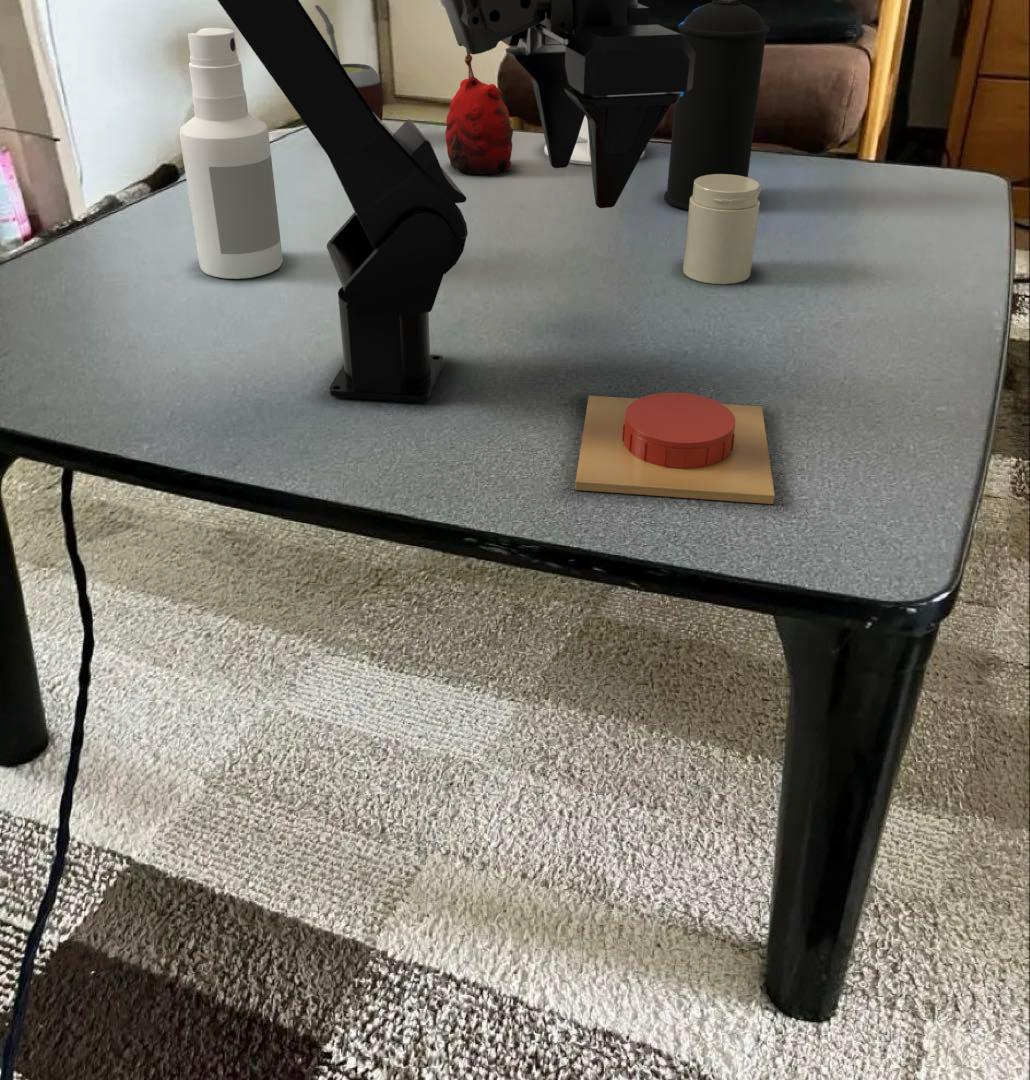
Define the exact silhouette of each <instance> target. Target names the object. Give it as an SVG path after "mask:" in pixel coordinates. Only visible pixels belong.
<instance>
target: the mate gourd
mask: <svg viewBox="0 0 1030 1080" xmlns="http://www.w3.org/2000/svg"><path fill="white" fill-rule="evenodd" d="M314 8H315V9H316V10H317V12H318V13H319V15H320V17H321V18H322V19H323V21H324V24H325V30H326V34H327V35H328V37H329V40H330V46H331V50H332V51H333V53H334V54H335V56H336V57H337V59H338V60H339V62H340V63H341V59H340V55H339V50H338V45H337V41H336V38H335V30H334V25H333V23H331V20H330V18H329V16H328V14H327V13H326V12H325V10H323V8H322V7H321V6H320V5H318V4H315V6H314ZM341 65H342V66H343V68H344V70H345V71H346V73H347V74H348V76H349V77H350V79H351V80H352V82H353V83H354V85H355V86H356V88H357V89H358V91H359V92H360V94H361V95H362V97H363V98H364V100H365V101H366V103H367V104H368V106H369V107H370V109H371V110H372V112H373V113H374V114H375V115H376V116H377V117H378V118H379V119H380V120H381V121H382V122H383V115H384V114H383V113H384V110H383V109H384V91H383V86H382V81H381V78H380V76H379V74H378V72H377V71H376V70H375V69H374V67H373V66H371V65H370V64H364V63H341Z"/></svg>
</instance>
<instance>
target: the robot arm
mask: <svg viewBox="0 0 1030 1080" xmlns="http://www.w3.org/2000/svg"><path fill="white" fill-rule="evenodd" d="M217 2H218V3H219V4H220V6H221V7H222V9H223V11H224V12H225V13H226V15H227V16H228V17H229V19H230V20H231V21H232V23H233V24H234V26H235V27H236V29H237V30H238V32H239V33H240V34H241V35H242V37H243V39H244V40H245V41H246V43H247V44H248V46H249V47H250V48H251V50H252V51H253V52H254V54H255V56H256V57H257V58H258V60H259V61H260V63H261V64H262V65H263V67H264V68H265V69H266V71H267V73H268V74H269V75H270V76H271V79H273V81H274V82H275V83H276V85H277V87H278V88H279V89H280V90H281V92H282V94H283V95H284V96H285V97H286V99H287V100H288V102H289V104H291V106H292V108H293V109H294V110H295V112H296V113H297V115H298V116H299V117H300V119H301V120H302V121H303V123H304V124H305V126H306V127H307V128H308V130H309V131H310V133H311V134H312V136H313V137H314V138H315V140H316V141H317V143H318V144H319V145H320V147H321V148H322V149H323V151H324V152H325V154H326V155H327V157H328V159H329V161H330V164H331V166H332V167H333V170H334V172H335V174H336V176H337V179H338V181H339V182H340V185H341V186H342V189H343V190H344V193H345V195H346V197H347V199H348V201H349V203H350V205H351V207H352V209H353V213H352V214H351V215H350V216H349V217H348V219H347V220H346V221H345V222H344V223H343V224H342V225H341V227H340V228H339V229H337V231H336V233H334V235H333V236H332V237H331V238H330V239H329V240H328V242H327V243H326V249H327V252H328V254H329V257H330V259H331V261H332V264H333V267H334V269H335V271H336V274H337V277H338V280H339V282H340V285H341V287H340V288H339V289H338V291H337V299H338V311H339V322H340V332H341V334H340V335H341V345H342V357H343V365H342V366H341V368H340V369H339V370H338V372H337V374H336V376H335V378H334V379H333V381H332V382H331V384H330V386H329V388H328V390H329V395H330V396H331V397H333V398H334V397H335V398H346V399H347V398H349V399H363V400H367V399H368V400H380V401H398V402H410V403H412V402H413V403H423V402H427V401H428V400H429V398H430V396H431V394H432V391H433V390H434V387H435V385H436V382H437V380H438V378H439V376H440V373H441V371H442V368H443V366H444V356H443V355H439V354H431V344H430V343H431V339H430V337H431V336H430V312H432V310H433V308H434V305H435V302H436V299H437V296H438V293H439V290H440V287H441V284H442V282H443V279H444V275H446V274H447V273H448V272H449V271H450V270H451V269H452V268H453V267H455V266H456V265H457V263H458V262H459V260H460V258H461V257H462V256H461V255H463V252H464V250H465V246H466V241H467V237H468V235H469V234H468V233H469V232H468V226H467V221H466V220H465V216H464V215H463V213H462V211H461V208H460V207H459V206H458V204H462V203H465V202H466V201H467V196H466V195H465V194H464V193H463V192H462V190H461V189H460V188H459V187H458V185H457V183H455V182H454V181H453V179H452V178H451V177H450V176H449V175H448V173H447V172H446V171H445V169H444V168H443V167H441V164H440V162H439V159H438V156H437V154H436V153H435V150H434V148H433V146H432V144H431V142H430V141H429V140H428V138H427V137H426V136H425V135H424V134H423V133H422V131H421V130H420V129H419V128H418V127H417V125H416V124H415V123H414V122H413V120H411V119H409V118H408V119H406V120H405V121H404V123H402V124H401V126H400V127H399V128H398V129H397V130H396V131H395V132H393V131H392V130H391V129H390V128H389V127H388V126H387V125H386V124H385V123H384V122H383V120H382V121H381V120H380V119H379V118H378V117H377V116H376V115H375V114H374V113H373V112H372V110H371V109H370V107H369V106H368V104H367V103H366V101H365V100H364V98H363V97H362V95H361V94H360V92H359V91H358V89H357V88H356V86H355V85H354V83H353V82H352V80H351V79H350V77H349V76H348V74H347V73H346V71H345V70H344V68H343V66H342V65H341V64H342V63H341V61H340V62H339V60H338V59H337V57H336V56H335V54H334V53H333V50H332V47H330V46H329V44H328V43H327V42H328V41H326V39H325V38H324V36H323V35H322V33H321V31H320V30H319V29H318V27H317V26H316V24H315V22H314V21H313V19H312V18H311V16H310V15H309V13H308V12H307V11H306V9H305V8H304V6H303V5H302V2H301V1H300V0H217ZM442 3H443V5H444V9H445V12H446V14H447V17H448V20H449V23H450V26H451V28H452V31H453V35H454V37H455V40H456V43H457V45H458V46H459V47H463V48H465V50H466V49H467V51H468V53H470V55H479V54H483V53H486V52H488V51H491V50H493V49H495V48H497V46H498V44H499V42H502V43H503V44H505V45H507V46H508V47H507V48H505V52H506V54H507V56H509V58H510V59H512V60H513V61H514V62H515V64H516V65H518V67H520V69H521V70H522V71H523V72H524V73H525V74H526V75H527V77H529V79H530V81H531V84H532V88H533V92H534V96H535V100H536V104H537V109H538V113H539V118H540V123H541V127H542V131H543V137H544V141H545V145H546V146H547V151H548V155H549V156H548V155H547V156H548V159H549V164H550V166H551V167H552V168H553V169H565V168H567V167H568V166H569V164H570V163H569V161H570V159H571V156H572V153H573V150H574V148H575V145H576V142H577V139H578V135H579V132H580V129H581V126H582V123H583V120H584V116H586V118H587V121H588V133H589V144H590V156H591V165H590V166H591V167H590V169H591V177H592V178H591V179H592V187H593V195H594V203H595V206H596V207H597V208H599V209H609V208H613V207H615V206H616V204H617V202H618V200H619V199H620V197H621V194H623V191H624V189H625V187H626V185H627V183H628V182H629V179H630V178H631V176H632V174H633V172H634V170H635V168H636V166H637V165H638V164H639V163H638V162H639V160H641V158H640V157H641V155H642V154H643V152H644V153H645V151H646V148H647V146H648V144H649V143H650V141H651V139H652V137H653V136H654V134H656V131H657V130H658V128H659V126H660V124H661V123H662V121H663V120H664V118H665V116H666V115H667V113H668V112H669V110H670V108H671V106H672V105H675V104H676V103H678V102H679V99H680V95H681V92H687V91H689V90H691V89H692V84H693V73H694V63H695V51H694V50H693V49H692V47H691V46H690V45H689V44H688V42H687V41H686V40H685V39H684V37H683V36H682V35H681V33H679V32H677V31H674V30H672V29H669V28H667V27H664V26H662V25H660V24H649V19H650V7H649V6H646V5H643V4H640V3H639V0H442ZM467 51H466V52H467ZM644 150H645V151H644Z"/></svg>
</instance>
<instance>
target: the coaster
mask: <svg viewBox="0 0 1030 1080" xmlns="http://www.w3.org/2000/svg"><path fill="white" fill-rule="evenodd" d="M637 399H638V398H636V397H635V398H633V397H619V396H618V397H617V396H603V395H588V398H587V403H586V410H585V418H584V423H583V430H582V437H581V442H580V443H581V444H580V449H579V456H578V462H577V463H578V464H577V468H576V476H575V482H574V483H575V484H574V485H575V486H574V489H575V491H583V492H598V493H612V494H624V495H625V494H626V495H641V496H652V497H653V496H654V497H666V498H667V497H668V498H681V499H695V500H696V499H697V500H698V499H699V500H708V501H709V500H711V501H724V502H737V503H738V502H739V503H750V504H751V503H752V504H764V505H774V503H775V498H776V494H775V493H776V492H775V487H774V480H773V479H774V478H773V473H772V467H771V459H770V453H769V446H768V439H767V432H766V425H765V418H764V410H763V406H760V405H745V404H744V405H743V404H728V403H721V404H722V405H724V406H725V407H727V408H728V409H729V410H730V411H731V412H732V413H733V415H734V417H735V429H734V433H735V437H734V445H733V451H731V452H730V453H729V455H728V456H727V457H726V458H725V459H724V460H722V461H720V462H718V463H715V464H713V465H709V466H706V467H699V468H688V469H684V468H671V467H663V466H659V465H656V464H652V463H649V462H647V461H644V460H642V459H640V458H638V457H636V456H635V455H634V454H632V453H631V452H630V451H629V450H628V449H627V448H626V446H625V444H624V441H622V435H623V424H624V420H625V411H626V409H627V407H628V406H629V405H630V404H631V403H632V402H634V401H635V400H637Z"/></svg>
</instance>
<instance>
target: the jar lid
mask: <svg viewBox="0 0 1030 1080" xmlns="http://www.w3.org/2000/svg"><path fill="white" fill-rule="evenodd" d="M636 399H637V400H635V401H634V402H632V403H631V404H630V405H629V406H628V407H627V409H626V411H625V420H624V424H623V435H622V441H624V444H625V446H626V448H627V449H628V450H629V451H630V452H631V453H632V454H634V455H635V456H636V457H638V458H640V459H642V460H644V461H647V462H649V463H652V464H656V465H659V466H663V467H671V468H684V469H688V468H699V467H706V466H709V465H713V464H715V463H718V462H720V461H722V460H724V459H725V458H726V457H727V456H728V455H729V453H730V452H731V451H733V445H734V437H735V433H734V429H735V417H734V415H733V413H732V412H731V411H730V410H729V409H728V408H727V407H725V406H724V405H722V404H723V403H720V402H719V401H717V400H714V399H711V398H709V397H706V396H703V395H699V394H693V393H686V392H685V393H684V392H659V393H652V394H648V395H645V396H641V397H640V398H636Z"/></svg>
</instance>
